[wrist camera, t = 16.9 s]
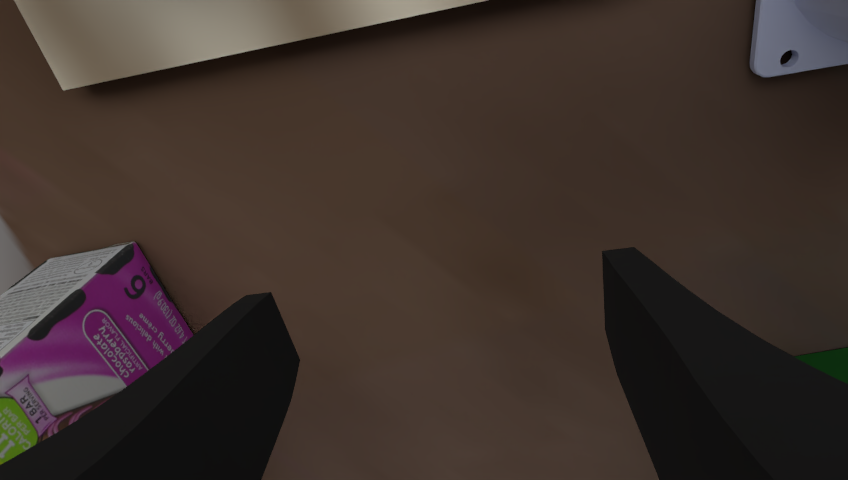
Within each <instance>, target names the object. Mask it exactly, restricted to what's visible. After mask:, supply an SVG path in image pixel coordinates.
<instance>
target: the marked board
mask: <svg viewBox="0 0 848 480" xmlns="http://www.w3.org/2000/svg"><path fill="white" fill-rule="evenodd" d="M14 1H15V3H16V5H17V7H18V8H19V10H20V12H21V14H22V16H23V18H24V19H25V21H26V23H27V25H28V27H29V29H30V30H31V32H32V34H33V36H34V38H35V40H36V42H37V43H38V45H39V47H40V49H41V51H42V53H43V54H44V56H45V58H46V60H47V62H48V64H49V65H50V67H51V69H52V71H53V73H54V75H55V76H56V78H57V80H58V82H59V84H60V86H61V87H62V89H63V91H64V90H68V89H73V88H78V87H82V86H87V85H92V84H97V83H101V82H106V81H111V80H115V79H120V78H125V77H129V76H134V75H139V74H144V73H148V72H153V71H158V70H162V69H167V68H172V67H177V66H181V65H186V64H191V63H195V62H200V61H205V60H210V59H214V58H219V57H224V56H228V55H233V54H238V53H243V52H247V51H252V50H257V49H261V48H266V47H271V46H275V45H280V44H285V43H290V42H294V41H299V40H304V39H308V38H313V37H318V36H323V35H327V34H332V33H337V32H341V31H346V30H351V29H356V28H360V27H365V26H370V25H374V24H379V23H384V22H388V21H393V20H398V19H403V18H407V17H412V16H417V15H421V14H426V13H431V12H436V11H440V10H445V9H450V8H454V7H459V6H464V5H469V4H473V3H478V2H483V1H487V0H14Z"/></svg>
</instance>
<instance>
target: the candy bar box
mask: <svg viewBox="0 0 848 480" xmlns="http://www.w3.org/2000/svg"><path fill="white" fill-rule="evenodd" d="M192 336H193V333H192V332H191V330H190V329H189V327H188V325H187V324H186V322H185V321H184V319H183V317H182V316H181V314H180V313H179V311H178V310H177V308H176V306H175V305H174V303H173V301H172V300H171V298H170V297H169V295H168V293H167V292H166V290H165V289H164V287H163V285H162V284H161V282H160V281H159V279H158V277H157V276H156V274H155V272H154V271H153V269H152V267H151V266H150V264H149V263H148V261H147V260H146V258H145V256H144V255H143V253H142V251H141V250H140V248H139V247H138V245H137V243H136V242H127V243H121V244H116V245H112V246H109V247H106V248H102V249H98V250H93V251H88V252H81V253H75V254H70V255H65V256H62V257H56V258H51V259H48V260H47V261H45V262H44V263H42V264H41V265H40V266H38V267H37V268H35V269H34V270H33V271H31V272H30V273H29V274H28V275H26V276H25V277H24V278H22V279H21V280H20V281H18V282H17V283H16V284H15V285H13V286H11V287H10V288H9V289H8V290H7V291H6V292H4V293H3V294H2V295H0V465H1V464H3V463H4V462H6V461H8V460H10V459H12V458H14V457H15V456H17V455H19V454H20V453H22V452H24V451H26V450H27V449H29V448H31V447H33V446H34V445H36V444H38V443H40V442H41V441H43V440H45V439H46V438H48V437H50V436H52V435H53V434H55V433H57V432H59V431H60V430H62V429H64V428H65V427H67V426H69V425H70V424H72V423H73V422H75V421H77V420H78V419H80V418H81V417H83V416H84V415H86V414H87V413H89V412H90V411H92V410H94V409H95V408H97V407H98V406H100V405H101V404H103V403H104V402H106V401H107V400H109V399H110V398H111V397H113V396H114V395H116V394H117V393H119V392H120V391H121V390H123V389H124V388H126V387H127V386H128V385H130V384H131V383H132V382H134V381H135V380H136V379H138V378H139V377H140V376H142V375H143V374H144V373H146V372H147V371H148V370H150V369H151V368H152V367H154V366H155V365H156V364H158V363H159V362H160V361H162V360H163V359H164V358H166V357H167V356H168V355H170V354H171V353H172V352H173V351H175V350H176V349H177V348H178V347H180V346H181V345H182V344H183V343H185V342H186V341H187V340H188V339H190V338H191V337H192Z"/></svg>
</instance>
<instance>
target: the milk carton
mask: <svg viewBox="0 0 848 480" xmlns="http://www.w3.org/2000/svg"><path fill="white" fill-rule="evenodd" d="M794 357H795V358H797V359H799V360H801V361H803V362H804V363H806V364H808V365H810V366H812V367H814V368H816V369H818V370H820V371H822V372H824V373H826V374H828V375H830V376H832V377H834V378H836V379H838V380H840V381H843V382H845V383H847V384H848V347H847V348H841V349H835V350H830V351H824V352H818V353H812V354H806V355H800V356H794Z"/></svg>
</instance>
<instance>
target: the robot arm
mask: <svg viewBox="0 0 848 480" xmlns="http://www.w3.org/2000/svg"><path fill="white" fill-rule="evenodd" d="M789 50H791V51H792V56H791V58H790V60H789V61H788V62H787V63H785V64H782V65H781V64H780V59H781V57H782V55H783V54H784V53H785V52H787V51H789ZM844 64H848V0H756V6H755V15H754V25H753V35H752V44H751V54H750V69H751V70H752V71H753V73H755V74H757V75H759V76H761V77H774V76H780V75H786V74H792V73H798V72H803V71H809V70H815V69H821V68H827V67H833V66H839V65H844ZM602 258H603V284H604V309H605V330H606V334H607V338H608V342H609V346H610V350H611V354H612V357H613V361H614V365H615V368H616V372H617V375H618V377H619V380H620V383H621V385H622V388H623V390H624V393H625V395H626V398H627V400H628V403H629V405H630V408H631V410H632V413H633V415H634V417H635V420H636V422H637V425H638V427H639V430H640V432H641V435H642V437H643V440H644V442H645V445H646V447H647V450H648V452H649V455H650V457H651V459H652V462H653V464H654V467H655V469H656V472H657V474H658V477H659V480H848V384H847V383H845V382H843V381H840V380H838V379H836V378H834V377H832V376H830V375H828V374H826V373H824V372H822V371H820V370H818V369H816V368H814V367H812V366H810V365H808V364H806V363H804V362H803V361H801V360H799V359H797V358H795V357H793V356H792V355H790V354H788V353H786V352H784V351H782V350H781V349H779V348H777V347H775V346H773V345H771V344H770V343H768V342H766V341H765V340H763V339H761V338H759V337H758V336H756V335H754V334H753V333H751V332H749V331H748V330H746V329H745V328H743V327H742V326H740V325H739V324H737V323H735V322H734V321H732V320H731V319H729V318H728V317H726V316H724V315H723V314H721V313H720V312H719V311H717V310H716V309H714V308H713V307H711V306H710V305H708V304H707V303H706V302H704V301H703V300H702V299H700V298H699V297H697V296H696V295H695V294H693V293H692V292H691V291H689V290H688V289H686V288H685V287H684V286H683V285H681V284H680V283H679V282H677V281H676V280H675V279H674V278H672V277H671V276H670V275H668V274H667V273H666V272H665V271H663V270H662V269H661V268H660V267H658V266H657V265H656V264H655V263H653V262H652V261H651V260H650V259H648V258H647V257H646V256H645V255H643V254H642V253H641V252H640V251H638V250H637V249H636V248H634V247H632V248H624V249H615V250H607V251H602ZM299 362H300V359H299V356H298V354H297V352H296V349H295V347H294V345H293V342H292V340H291V338H290V335H289V333H288V331H287V328H286V326H285V324H284V321H283V319H282V317H281V314H280V312H279V310H278V307H277V305H276V303H275V300H274V298H273V296H272V293H271V292H269V293H261V294H253V295H246V296H245V297H243V298H241V299H240V300H238V301H237V302H236V303H234V304H233V305H231V306H230V307H229V308H227V309H226V310H225V311H223V312H222V313H221V314H220V315H218V316H217V317H216V318H215V319H213V320H212V321H211V322H210V323H208V324H207V325H206V326H205V327H203V328H202V329H201V330H200V331H198V332H197V333H196V334H195V335H193V336H192V337H191V338H190V339H188V340H187V341H186V342H185V343H183V344H182V345H181V346H180V347H178V348H177V349H176V350H175V351H173V352H172V353H171V354H170V355H168V356H167V357H166V358H164V359H163V360H162V361H160V362H159V363H158V364H156V365H155V366H154V367H152V368H151V369H150V370H148V371H147V372H146V373H144V374H143V375H142V376H140V377H139V378H138V379H136V380H135V381H134V382H132V383H131V384H130V385H128V386H127V387H126V388H124V389H123V390H121V391H120V392H119V393H117V394H116V395H114V396H113V397H111V398H110V399H109V400H107V401H106V402H104V403H103V404H101V405H100V406H98V407H97V408H95V409H94V410H92V411H90V412H89V413H87V414H86V415H84V416H83V417H81V418H80V419H78V420H77V421H75V422H73V423H72V424H70V425H69V426H67V427H65V428H64V429H62V430H60V431H59V432H57V433H55V434H53V435H52V436H50V437H48V438H46V439H45V440H43V441H41V442H40V443H38V444H36V445H34V446H33V447H31V448H29V449H27V450H26V451H24V452H22V453H20V454H19V455H17V456H15V457H14V458H12V459H10V460H8V461H6V462H4V463H3V464H1V465H0V480H261V479H262V476H263V473H264V471H265V468H266V465H267V463H268V460H269V458H270V455H271V452H272V450H273V447H274V445H275V442H276V439H277V437H278V434H279V432H280V429H281V426H282V424H283V421H284V418H285V416H286V413H287V410H288V407H289V404H290V402H291V398H292V394H293V390H294V386H295V382H296V377H297V372H298V367H299Z"/></svg>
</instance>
